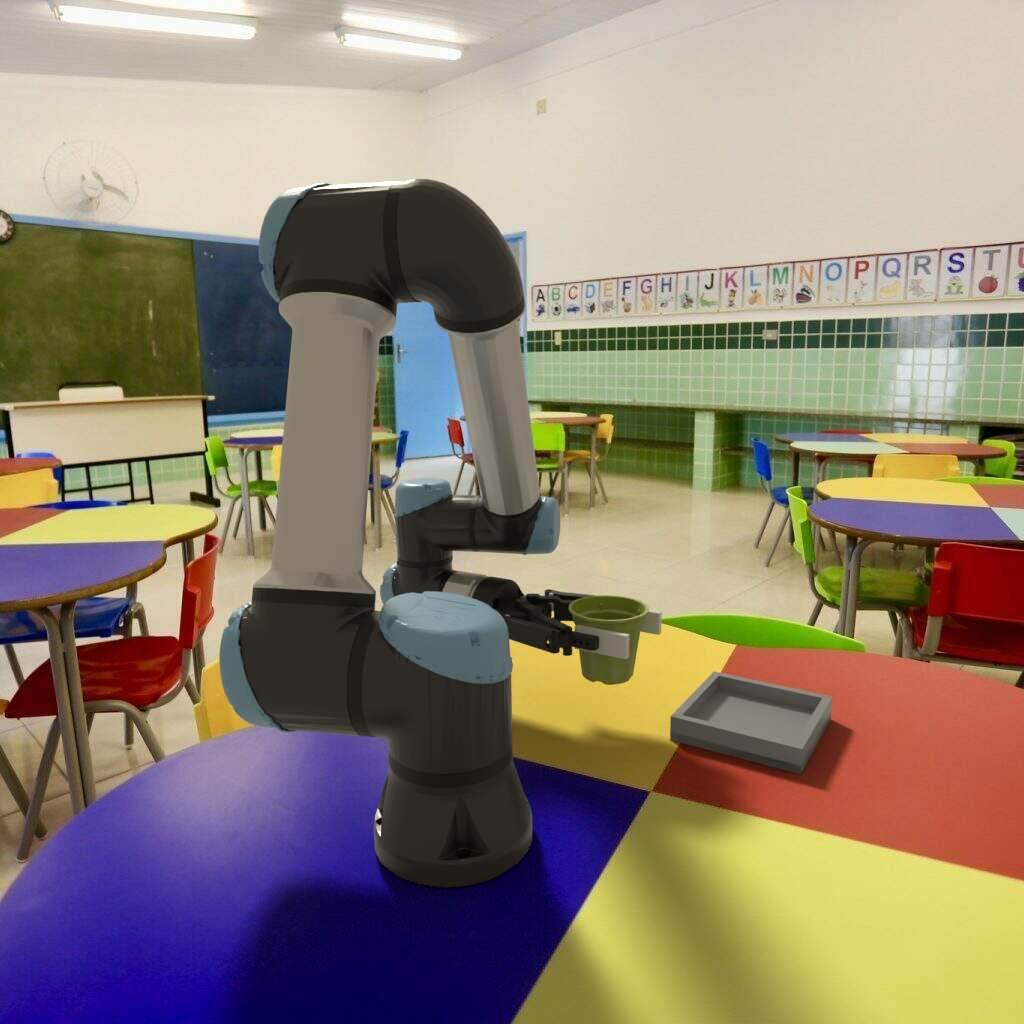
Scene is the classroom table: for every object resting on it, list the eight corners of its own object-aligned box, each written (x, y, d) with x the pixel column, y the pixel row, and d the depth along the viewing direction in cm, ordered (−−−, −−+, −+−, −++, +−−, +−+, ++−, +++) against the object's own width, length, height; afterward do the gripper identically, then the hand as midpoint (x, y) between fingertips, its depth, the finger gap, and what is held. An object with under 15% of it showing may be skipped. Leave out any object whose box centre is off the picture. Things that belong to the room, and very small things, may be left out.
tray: (800, 774, 87) (802, 749, 87) (670, 739, 96) (670, 716, 95) (831, 719, 100) (832, 696, 99) (713, 692, 108) (713, 671, 107)
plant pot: (662, 683, 94) (664, 613, 93) (590, 697, 91) (590, 623, 89) (622, 656, 103) (623, 591, 101) (555, 668, 100) (555, 600, 98)
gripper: (527, 609, 115) (678, 637, 103) (434, 657, 97) (603, 698, 85) (526, 558, 113) (679, 581, 101) (432, 597, 96) (603, 630, 84)
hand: (644, 634), depth 93 cm, fingers closed on plant pot, 8 cm apart
